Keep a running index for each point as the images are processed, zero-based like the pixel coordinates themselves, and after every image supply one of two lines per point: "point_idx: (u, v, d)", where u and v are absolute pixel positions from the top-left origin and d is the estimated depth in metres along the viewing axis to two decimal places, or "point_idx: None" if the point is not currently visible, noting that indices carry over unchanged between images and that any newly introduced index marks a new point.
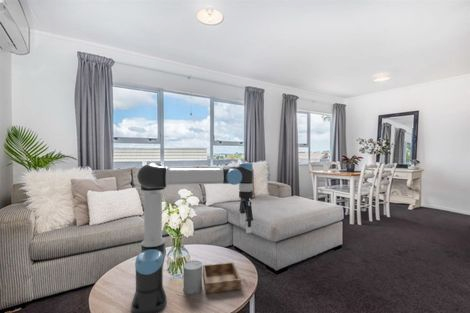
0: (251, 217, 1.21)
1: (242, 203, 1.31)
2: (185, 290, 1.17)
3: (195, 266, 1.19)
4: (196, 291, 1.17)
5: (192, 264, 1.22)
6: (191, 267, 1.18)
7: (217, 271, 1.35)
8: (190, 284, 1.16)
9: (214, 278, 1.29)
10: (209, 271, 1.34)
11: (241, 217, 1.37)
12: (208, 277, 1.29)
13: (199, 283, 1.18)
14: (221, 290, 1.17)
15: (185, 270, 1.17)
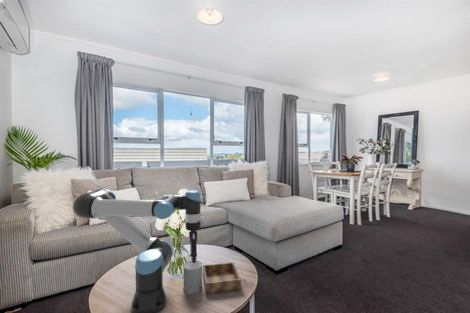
0: (195, 252, 1.11)
1: None
2: (185, 290, 1.17)
3: None
4: (196, 291, 1.17)
5: None
6: None
7: (217, 271, 1.35)
8: (190, 284, 1.16)
9: (214, 278, 1.29)
10: (209, 271, 1.34)
11: (191, 248, 1.27)
12: (208, 277, 1.29)
13: (199, 283, 1.18)
14: (221, 290, 1.17)
15: (185, 270, 1.17)
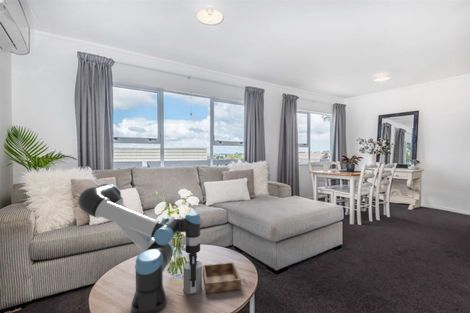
0: (194, 277, 1.13)
1: None
2: (185, 290, 1.17)
3: None
4: (196, 291, 1.17)
5: None
6: None
7: (217, 271, 1.35)
8: None
9: (214, 278, 1.29)
10: (209, 271, 1.34)
11: None
12: (208, 277, 1.29)
13: (199, 283, 1.18)
14: (221, 290, 1.17)
15: (185, 270, 1.17)
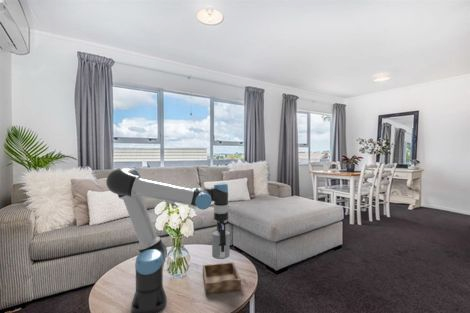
0: (224, 242, 1.18)
1: (217, 225, 1.27)
2: (214, 255, 1.23)
3: None
4: (225, 256, 1.23)
5: None
6: None
7: (217, 271, 1.35)
8: (219, 250, 1.22)
9: (214, 278, 1.29)
10: (209, 271, 1.34)
11: None
12: (208, 277, 1.29)
13: (227, 249, 1.24)
14: (221, 290, 1.17)
15: (214, 236, 1.23)
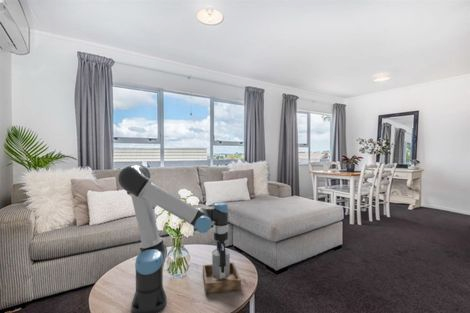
0: (224, 263, 1.19)
1: (217, 244, 1.27)
2: (215, 276, 1.23)
3: None
4: (225, 277, 1.23)
5: None
6: None
7: None
8: (219, 270, 1.22)
9: (214, 278, 1.29)
10: (209, 271, 1.34)
11: None
12: (208, 277, 1.29)
13: (227, 269, 1.24)
14: (221, 290, 1.17)
15: (214, 257, 1.23)
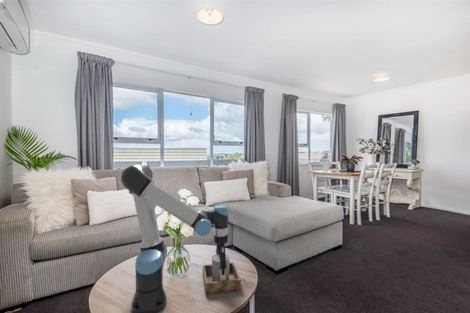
0: (224, 265, 1.17)
1: None
2: None
3: None
4: None
5: None
6: (219, 260, 1.24)
7: None
8: (219, 276, 1.22)
9: None
10: (209, 271, 1.34)
11: None
12: (208, 277, 1.29)
13: (227, 275, 1.24)
14: (221, 290, 1.17)
15: (214, 262, 1.23)
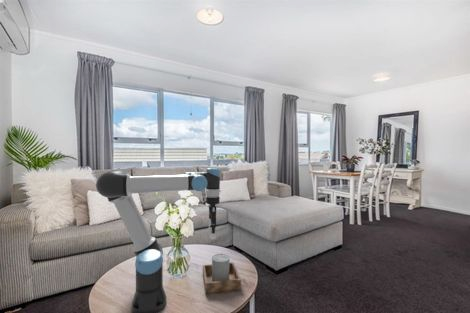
0: (214, 223, 1.20)
1: None
2: None
3: (223, 259, 1.25)
4: None
5: (220, 257, 1.28)
6: (219, 260, 1.24)
7: None
8: (219, 276, 1.22)
9: None
10: (209, 271, 1.34)
11: (210, 223, 1.36)
12: (208, 277, 1.29)
13: (227, 275, 1.24)
14: (221, 290, 1.17)
15: (214, 262, 1.23)
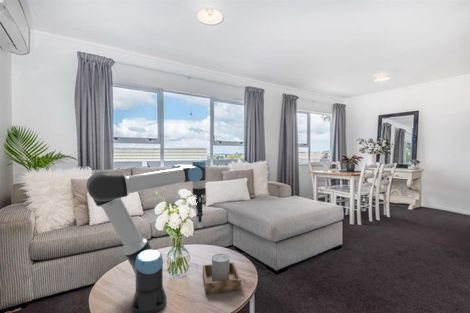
0: (201, 213, 1.26)
1: None
2: None
3: (223, 259, 1.25)
4: None
5: (220, 257, 1.28)
6: (219, 260, 1.24)
7: None
8: (219, 276, 1.22)
9: None
10: (209, 271, 1.34)
11: (197, 213, 1.42)
12: (208, 277, 1.29)
13: (227, 275, 1.24)
14: (221, 290, 1.17)
15: (214, 262, 1.23)
